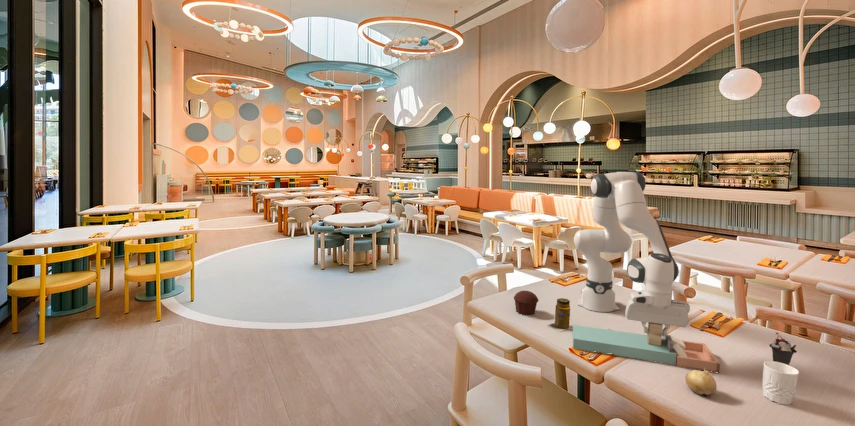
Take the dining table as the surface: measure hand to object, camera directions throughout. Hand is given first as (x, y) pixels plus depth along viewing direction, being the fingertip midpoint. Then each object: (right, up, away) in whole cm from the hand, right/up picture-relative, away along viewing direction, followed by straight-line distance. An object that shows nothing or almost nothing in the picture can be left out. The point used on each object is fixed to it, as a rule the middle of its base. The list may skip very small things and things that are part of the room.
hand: (654, 333), depth 144 cm
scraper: (+1, -4, 0) cm, 4 cm away
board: (-11, -7, +5) cm, 13 cm away
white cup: (+22, -11, -27) cm, 36 cm away
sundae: (+34, -10, -14) cm, 38 cm away
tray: (+12, -8, -3) cm, 15 cm away
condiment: (-27, -5, +24) cm, 36 cm away
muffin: (-38, -3, +41) cm, 56 cm away
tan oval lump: (0, -11, -24) cm, 26 cm away
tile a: (+8, -4, 0) cm, 9 cm away
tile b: (+5, -5, -5) cm, 9 cm away
